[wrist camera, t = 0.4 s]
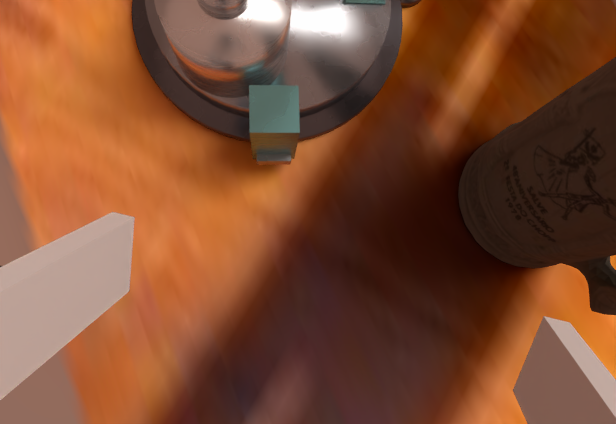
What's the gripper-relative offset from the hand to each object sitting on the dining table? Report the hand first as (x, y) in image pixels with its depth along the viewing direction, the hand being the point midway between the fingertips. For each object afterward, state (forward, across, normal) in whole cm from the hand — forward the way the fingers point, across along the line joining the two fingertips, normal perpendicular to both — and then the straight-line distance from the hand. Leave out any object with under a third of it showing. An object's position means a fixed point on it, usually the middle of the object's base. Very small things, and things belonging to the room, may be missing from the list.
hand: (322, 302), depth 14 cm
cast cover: (+20, +10, -7) cm, 23 cm away
